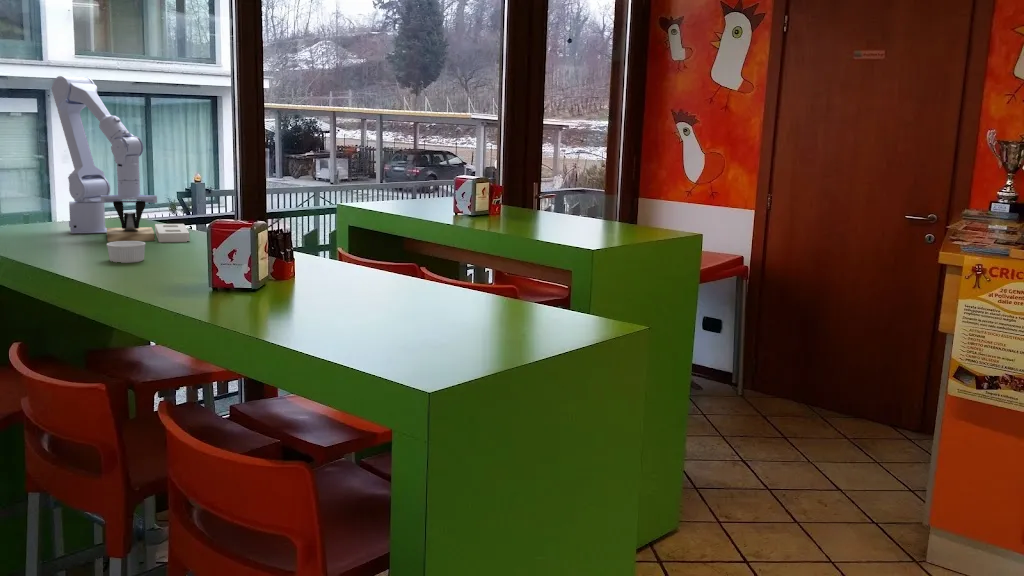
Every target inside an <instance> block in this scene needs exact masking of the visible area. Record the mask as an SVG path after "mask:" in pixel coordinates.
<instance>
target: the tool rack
mask: <svg viewBox="0 0 1024 576" xmlns="http://www.w3.org/2000/svg"><path fill="white" fill-rule="evenodd" d="M154 234H156V235H155V236H156V238H157V241H158V242H159V243H188V242H187V241H190V232H189V230H188V228H187V227H186V225H185V224H184V223H155V224H154Z"/></svg>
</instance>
